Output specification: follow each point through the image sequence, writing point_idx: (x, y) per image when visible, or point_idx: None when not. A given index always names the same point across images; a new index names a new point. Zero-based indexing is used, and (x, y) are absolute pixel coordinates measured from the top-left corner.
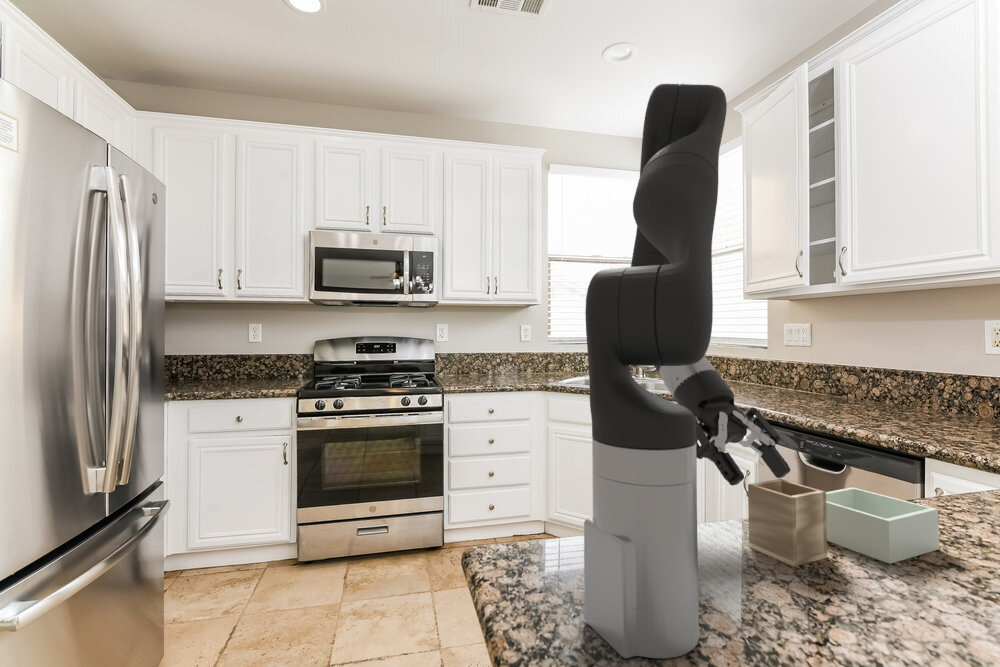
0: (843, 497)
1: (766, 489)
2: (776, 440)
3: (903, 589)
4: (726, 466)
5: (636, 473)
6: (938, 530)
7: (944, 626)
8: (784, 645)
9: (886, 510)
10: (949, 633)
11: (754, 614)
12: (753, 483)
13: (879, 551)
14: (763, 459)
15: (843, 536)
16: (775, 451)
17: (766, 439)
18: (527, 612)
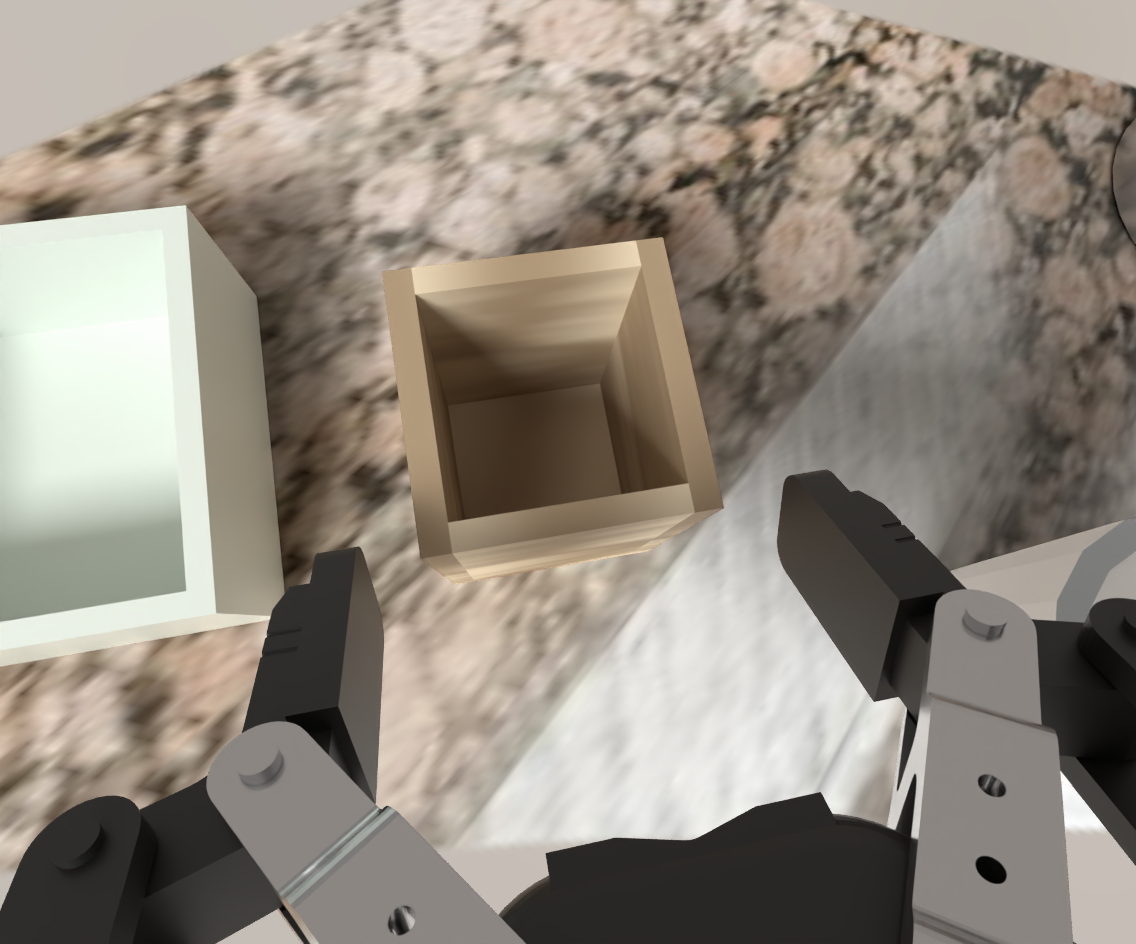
0: None
1: (689, 389)
2: (139, 811)
3: (404, 168)
4: (912, 533)
5: None
6: None
7: (502, 23)
8: (940, 73)
9: None
10: (523, 4)
11: (929, 182)
12: (677, 514)
13: (248, 312)
14: (377, 763)
15: (257, 440)
16: (317, 666)
17: (302, 787)
18: None
